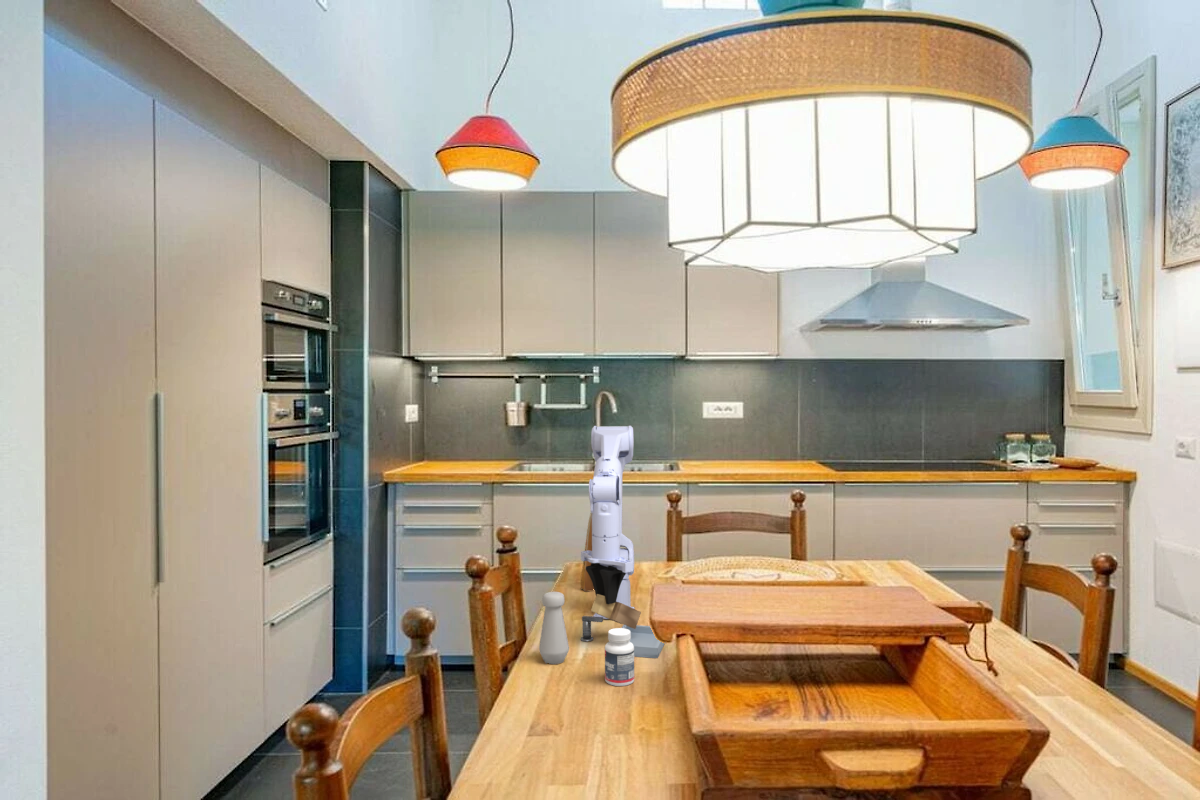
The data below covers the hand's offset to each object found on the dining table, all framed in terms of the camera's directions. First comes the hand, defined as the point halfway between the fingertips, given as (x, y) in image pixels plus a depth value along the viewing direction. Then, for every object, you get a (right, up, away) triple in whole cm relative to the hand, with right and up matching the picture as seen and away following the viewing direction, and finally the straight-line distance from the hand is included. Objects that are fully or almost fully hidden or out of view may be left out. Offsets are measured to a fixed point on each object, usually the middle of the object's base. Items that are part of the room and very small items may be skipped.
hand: (606, 601), depth 147 cm
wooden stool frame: (+1, -4, +1) cm, 4 cm away
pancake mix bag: (-2, -9, +48) cm, 49 cm away
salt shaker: (-10, -9, -8) cm, 16 cm away
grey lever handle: (-3, -9, +3) cm, 10 cm away
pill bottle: (+2, -9, -19) cm, 21 cm away
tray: (+7, -9, 0) cm, 11 cm away
